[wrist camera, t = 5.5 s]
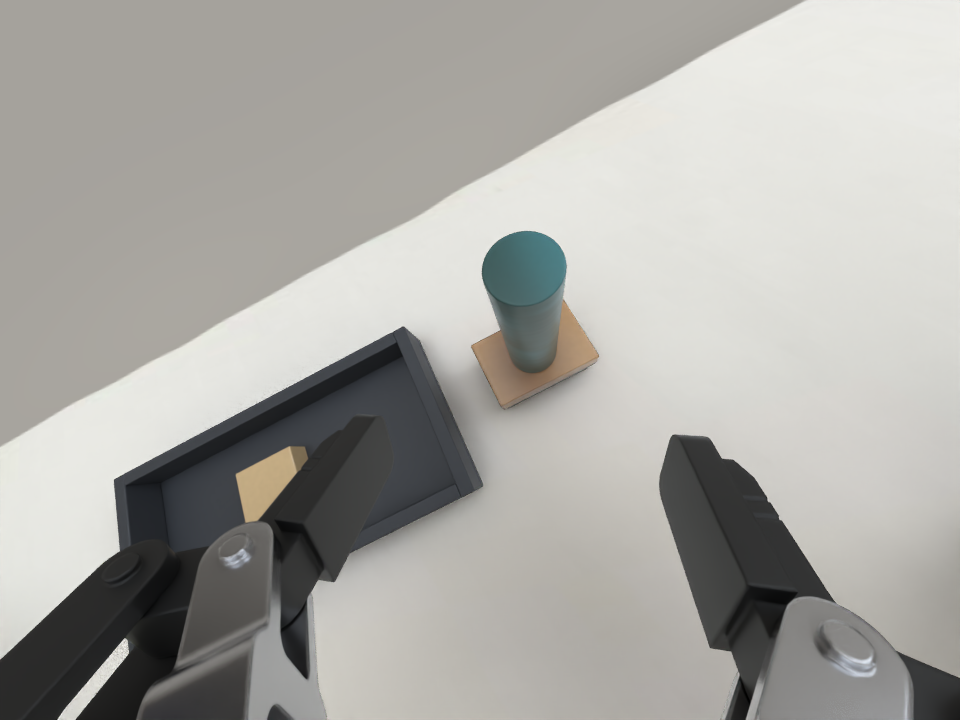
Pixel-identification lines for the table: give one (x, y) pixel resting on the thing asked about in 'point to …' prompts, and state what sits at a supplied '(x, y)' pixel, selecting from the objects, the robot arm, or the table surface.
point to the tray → (307, 450)
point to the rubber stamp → (529, 319)
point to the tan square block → (268, 480)
